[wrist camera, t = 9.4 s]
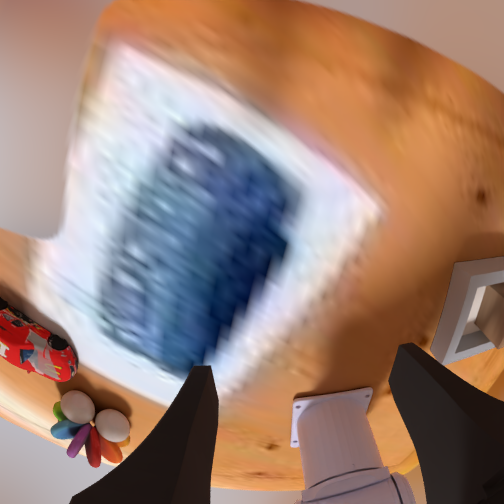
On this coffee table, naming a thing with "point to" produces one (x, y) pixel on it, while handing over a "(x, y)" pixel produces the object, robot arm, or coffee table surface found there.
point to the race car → (34, 346)
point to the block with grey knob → (492, 314)
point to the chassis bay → (465, 310)
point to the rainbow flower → (90, 428)
